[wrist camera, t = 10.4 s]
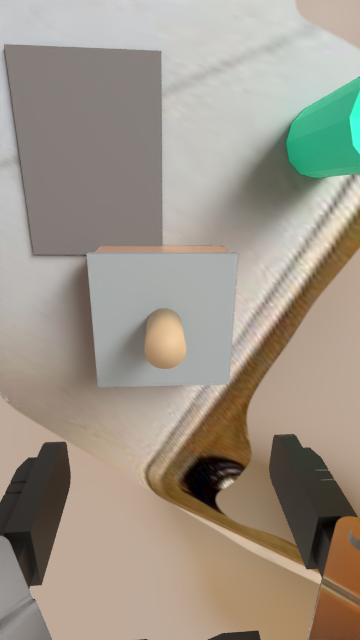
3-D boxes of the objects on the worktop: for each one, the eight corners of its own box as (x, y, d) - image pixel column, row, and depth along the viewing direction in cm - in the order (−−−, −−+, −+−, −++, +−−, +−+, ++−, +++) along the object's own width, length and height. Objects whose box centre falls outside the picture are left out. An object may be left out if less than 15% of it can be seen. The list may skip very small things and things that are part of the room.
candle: (272, 157, 30) (342, 134, 19) (311, 87, 28) (412, 17, 17) (325, 190, 31) (420, 187, 20) (365, 125, 30) (493, 83, 18)
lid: (88, 252, 27) (71, 267, 21) (235, 252, 28) (256, 266, 22) (99, 381, 31) (87, 422, 25) (226, 378, 32) (241, 417, 26)
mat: (6, 46, 26) (3, 44, 26) (161, 52, 27) (161, 50, 26) (35, 253, 31) (33, 254, 31) (162, 254, 32) (162, 254, 32)
